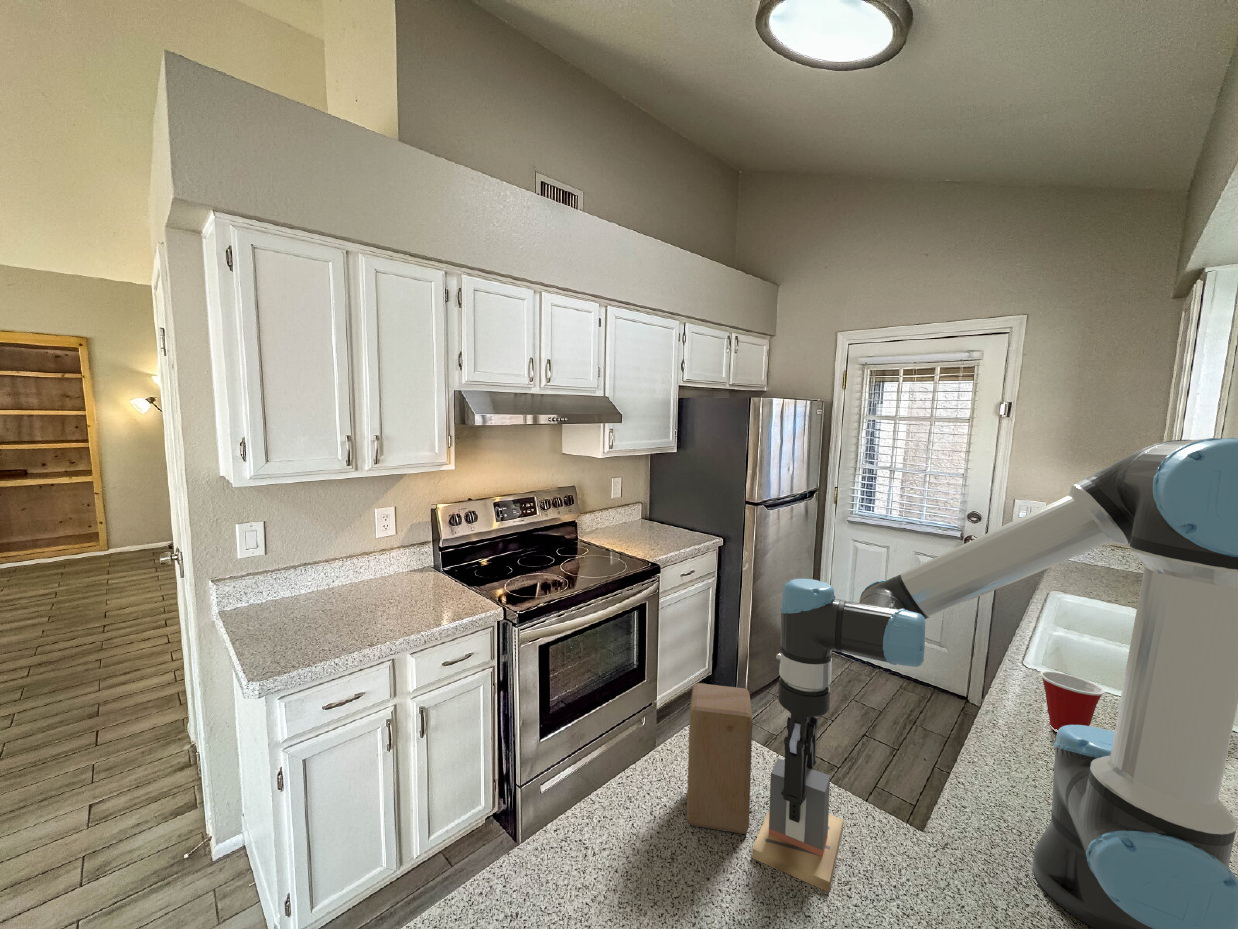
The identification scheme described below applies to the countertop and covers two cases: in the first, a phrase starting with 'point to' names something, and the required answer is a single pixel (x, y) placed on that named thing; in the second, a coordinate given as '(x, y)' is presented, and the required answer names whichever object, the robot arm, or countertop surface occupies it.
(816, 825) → the block
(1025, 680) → the countertop surface
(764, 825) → the board
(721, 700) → the wooden block
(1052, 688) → the plastic cup
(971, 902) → the countertop surface
